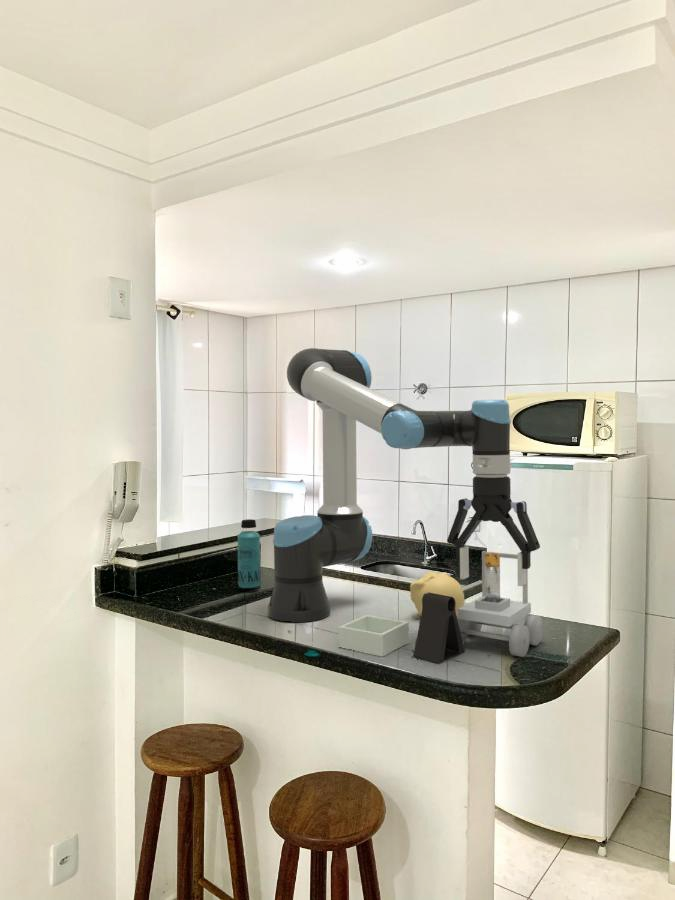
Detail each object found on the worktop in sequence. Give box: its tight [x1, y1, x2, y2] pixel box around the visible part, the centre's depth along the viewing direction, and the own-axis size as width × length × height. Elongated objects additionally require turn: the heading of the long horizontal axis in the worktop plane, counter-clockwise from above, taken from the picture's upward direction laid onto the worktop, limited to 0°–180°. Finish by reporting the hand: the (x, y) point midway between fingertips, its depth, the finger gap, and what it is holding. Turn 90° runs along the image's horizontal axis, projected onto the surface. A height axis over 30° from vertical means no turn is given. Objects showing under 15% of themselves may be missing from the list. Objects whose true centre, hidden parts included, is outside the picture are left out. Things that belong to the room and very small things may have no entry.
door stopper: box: [412, 592, 466, 665], centre depth 138 cm, size 9×6×12 cm, turn 135°
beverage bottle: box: [236, 518, 262, 589], centre depth 194 cm, size 6×7×20 cm
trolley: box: [456, 551, 544, 658], centre depth 143 cm, size 15×14×18 cm
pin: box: [485, 551, 501, 603], centre depth 142 cm, size 3×3×11 cm
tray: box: [338, 614, 410, 658], centre depth 145 cm, size 11×11×4 cm
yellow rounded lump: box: [409, 571, 465, 616], centre depth 164 cm, size 11×12×11 cm
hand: (492, 581), depth 142 cm, fingers open, 12 cm apart
